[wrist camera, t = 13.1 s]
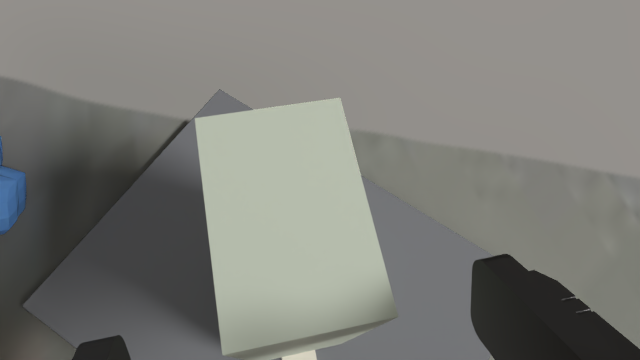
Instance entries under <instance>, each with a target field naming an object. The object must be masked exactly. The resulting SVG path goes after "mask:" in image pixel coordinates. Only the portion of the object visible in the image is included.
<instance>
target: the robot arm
mask: <svg viewBox="0 0 640 360" xmlns="http://www.w3.org/2000/svg"><path fill="white" fill-rule="evenodd" d="M470 311H471V320H472V324H473V327H474V330H475V332H476V334H477V336H478V338H479V339H480V341H481V342H482V343H483V345H484V346H485V347H486V348H487V350H488V351H489V352H490V354H491V355H492V356H493V358H494V359H495V360H640V349H639V348H638V347H636V346H635V345H634V344H633V343H632V342H630V341H629V340H628V339H627V338H626V337H624V336H623V335H622V334H621V333H619V332H618V331H617V330H616V329H615V328H613V327H612V326H611V325H610V324H609V323H607V322H606V321H605V320H604V319H603V318H601V317H600V316H599V315H598V314H597V313H595V312H594V311H593V312H591V310H590V308H589V307H588V306H587V305H586V304H584V303H583V302H582V301H581V300H580V299H576V298H575V295H574V294H572V293H571V292H570V291H569V290H568V289H566V288H565V287H564V286H563V285H562V284H560V283H559V282H558V281H556V280H554V279H552V278H550V277H548V276H546V275H544V274H541V273H539V272H537V271H535V270H532V271H528V270H527V269H526V268H524V267H523V266H522V265H521V264H520V263H519V262H518V261H516V260H515V259H514V258H513V257H512V256H510V255H508V254H502V255H497V256H493V257H488V258H483V259H479V260H476V261H474V263H473V266H472V283H471V310H470ZM72 360H131V358H130V355H129V352H128V350H127V347H126V344H125V341H124V339H123V338H122V336H120V335H116V336H111V337H107V338H102V339H97V340H93V341H88V342H83V343H81V344H80V345H79V346H78V348H77V349H76V352H75V354H74V357H73V359H72Z"/></svg>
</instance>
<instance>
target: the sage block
mask: <svg viewBox="0 0 640 360" xmlns="http://www.w3.org/2000/svg"><path fill="white" fill-rule="evenodd" d="M195 126H196V135H197V143H198V152H199V160H200V169H201V177H202V186H203V194H204V203H205V211H206V220H207V228H208V237H209V245H210V254H211V262H212V271H213V279H214V288H215V296H216V305H217V313H218V322H219V330H220V339H221V347H222V355H224V356H228V357H233V358H237V359H242V360H272V359H276V358H281V357H285V356H290V355H294V354H299V353H303V352H308V351H312V350H317V349H321V348H326V347H330V346H335V345H339V344H342V343H344V342H346V341H348V340H351V339H353V338H355V337H357V336H359V335H361V334H363V333H365V332H367V331H370V330H372V329H374V328H376V327H378V326H380V325H382V324H384V323H387V322H389V321H391V320H393V319H395V318H397V317H398V313H397V309H396V306H395V302H394V298H393V294H392V291H391V287H390V283H389V279H388V276H387V272H386V268H385V264H384V261H383V257H382V253H381V249H380V245H379V242H378V238H377V234H376V230H375V227H374V223H373V219H372V215H371V212H370V208H369V204H368V200H367V197H366V193H365V189H364V185H363V182H362V178H361V174H360V170H359V166H358V163H357V159H356V155H355V151H354V148H353V144H352V140H351V136H350V133H349V129H348V125H347V122H346V118H345V114H344V110H343V107H342V103H341V99H340V98H335V99H327V100H320V101H313V102H307V103H299V104H293V105H285V106H278V107H271V108H263V109H256V110H249V111H242V112H235V113H228V114H221V115H214V116H207V117H200V118H195Z"/></svg>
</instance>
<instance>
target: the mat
mask: <svg viewBox="0 0 640 360" xmlns="http://www.w3.org/2000/svg"><path fill="white" fill-rule="evenodd" d="M249 110H253V109H251V108H250V107H248V106H247V105H245V104H243V103H242V102H240V101H238V100H237V99H235V98H233V97H232V96H230V95H228V94H227V93H225V92H224V91H222V90H220V89H219V90H218V91H217V93H216V94H215V95H214V96H213V97H212V98H211V99H210V100H209V102H207V103H206V105H205V106H204V107H203V108H202V109H201V110H200V111H199V112H198V113H197V114H196V116H195V117H194V118H193V119H192V120H191V121H190V122H189V123H188V124H187V125H186V126H185V128H184V129H183V130H182V131H181V132H180V133H179V134H178V135H177V136H176V137H175V139H174V140H173V141H172V142H171V143H170V144H169V145H168V146H167V147H166V148H165V149H164V151H163V152H162V153H161V154H160V155H159V156H158V157H157V158H156V159H155V160H154V162H153V163H152V164H151V165H150V166H149V167H148V168H147V169H146V170H145V171H144V173H143V174H142V175H141V176H140V177H139V178H138V179H137V180H136V181H135V182H134V183H133V185H132V186H131V187H130V188H129V189H128V190H127V191H126V192H125V193H124V194H123V196H122V197H121V198H120V199H119V200H118V201H117V202H116V203H115V204H114V205H113V206H112V208H111V209H110V210H109V211H108V212H107V213H106V214H105V215H104V216H103V217H102V219H101V220H100V221H99V222H98V223H97V224H96V225H95V226H94V227H93V228H92V230H91V231H90V232H89V233H88V234H87V235H86V236H85V237H84V238H83V239H82V240H81V242H80V243H79V244H78V245H77V246H76V247H75V248H74V249H73V250H72V251H71V253H70V254H69V255H68V256H67V257H66V258H65V259H64V260H63V261H62V262H61V264H60V265H59V266H58V267H57V268H56V269H55V270H54V271H53V272H52V273H51V274H50V276H49V277H48V278H47V279H46V280H45V281H44V282H43V283H42V284H41V285H40V287H39V288H38V289H37V290H36V291H35V292H34V293H33V294H32V295H31V296H30V297H29V299H28V300H27V301H26V302H25V303H24V304H23V305H22V307H24V308H25V309H26V310H28V311H29V312H30V313H31V314H33V315H34V316H35V317H37V318H38V319H39V320H40V321H42V322H43V323H44V324H46V325H47V326H48V327H49V328H51V329H52V330H53V331H55V332H56V333H57V334H59V335H60V336H61V337H62V338H64V339H65V340H66V341H68V342H69V343H70V344H71V345H73V346H74V347H75V348H78V346H79V345H80V344H81V343H83V342H88V341H93V340H97V339H102V338H107V337H111V336H116V335H120V336H122V338H123V339H124V341H125V344H126V347H127V350H128V352H129V355H130V358H131V360H242V359H237V358H233V357H228V356H224V355H222V347H221V339H220V330H219V322H218V313H217V305H216V296H215V288H214V279H213V271H212V262H211V254H210V245H209V237H208V228H207V220H206V211H205V203H204V194H203V186H202V177H201V169H200V160H199V152H198V143H197V135H196V126H195V118H200V117H207V116H214V115H221V114H228V113H235V112H242V111H249ZM361 178H362V182H363V185H364V189H365V193H366V197H367V200H368V204H369V208H370V212H371V215H372V219H373V223H374V227H375V230H376V234H377V238H378V242H379V245H380V249H381V253H382V257H383V261H384V264H385V268H386V272H387V276H388V279H389V283H390V287H391V291H392V294H393V298H394V302H395V306H396V309H397V313H398V317H397V318H395V319H393V320H391V321H389V322H387V323H384V324H382V325H380V326H378V327H376V328H374V329H372V330H370V331H367V332H365V333H363V334H361V335H359V336H357V337H355V338H353V339H351V340H348V341H346V342H344V343H342V344H339V345H335V346H330V347H326V348H321V349H317V350H312V351H308V352H303V353H299V354H294V355H290V356H285V357H281V358H276V359H272V360H489V358H490V355H491V354H490V352H489V351H488V350H487V348H486V347H485V346H484V345H483V343H482V342H481V341H480V339H479V338H478V336H477V334H476V332H475V330H474V327H473V324H472V320H471V311H470V310H471V283H472V266H473V263H474V261H476V260H479V259H483V258H488V257H493V255H491V254H490V253H488V252H486V251H485V250H483V249H481V248H480V247H478V246H477V245H475V244H473V243H472V242H470V241H468V240H467V239H465V238H463V237H462V236H460V235H458V234H457V233H455V232H454V231H452V230H450V229H449V228H447V227H445V226H444V225H442V224H440V223H439V222H437V221H435V220H434V219H432V218H431V217H429V216H427V215H426V214H424V213H422V212H421V211H419V210H417V209H416V208H414V207H412V206H411V205H409V204H408V203H406V202H404V201H403V200H401V199H399V198H398V197H396V196H394V195H393V194H391V193H389V192H388V191H386V190H385V189H383V188H381V187H380V186H378V185H376V184H375V183H373V182H371V181H370V180H368V179H366V178H365V177H363V176H362V175H361Z"/></svg>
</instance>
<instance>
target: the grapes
mask: <svg viewBox="0 0 640 360" xmlns="http://www.w3.org/2000/svg"><path fill="white" fill-rule="evenodd" d="M2 161H3V155H2V142H1V136H0V235H1V234H5V233H6V232H7V231H8V230H9V229H10V228H11V227H12V226H13V224H14V223H15V222H16V221H17V218H18V216H19V215H20V214H21V213H22V211H23V210H24V209H25V204H26V177H25V173H24V172H21V171H18V170H14V169H11V168H8V167H4V166H2Z"/></svg>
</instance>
